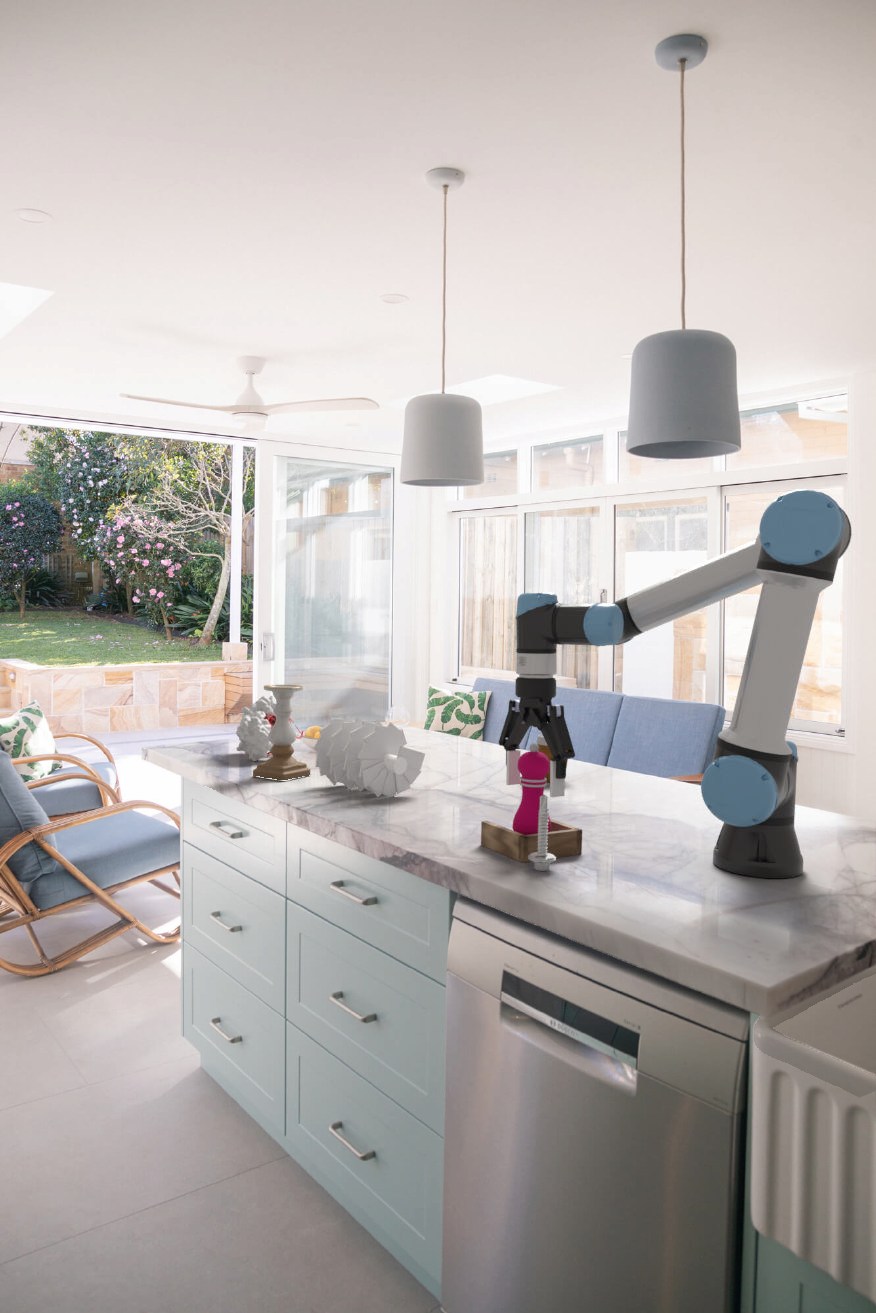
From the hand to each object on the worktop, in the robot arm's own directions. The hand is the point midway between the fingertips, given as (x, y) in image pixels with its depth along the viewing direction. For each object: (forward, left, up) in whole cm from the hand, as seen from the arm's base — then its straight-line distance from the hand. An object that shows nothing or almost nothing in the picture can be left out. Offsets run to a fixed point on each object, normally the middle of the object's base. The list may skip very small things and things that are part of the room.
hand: (534, 790), depth 165 cm
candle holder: (+88, +16, -11) cm, 91 cm away
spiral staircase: (+62, +4, -11) cm, 64 cm away
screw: (-11, +6, -11) cm, 17 cm away
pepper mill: (0, 0, -11) cm, 11 cm away
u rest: (0, 0, -11) cm, 11 cm away
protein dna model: (+120, +9, -11) cm, 121 cm away
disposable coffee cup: (+55, -48, -11) cm, 74 cm away
